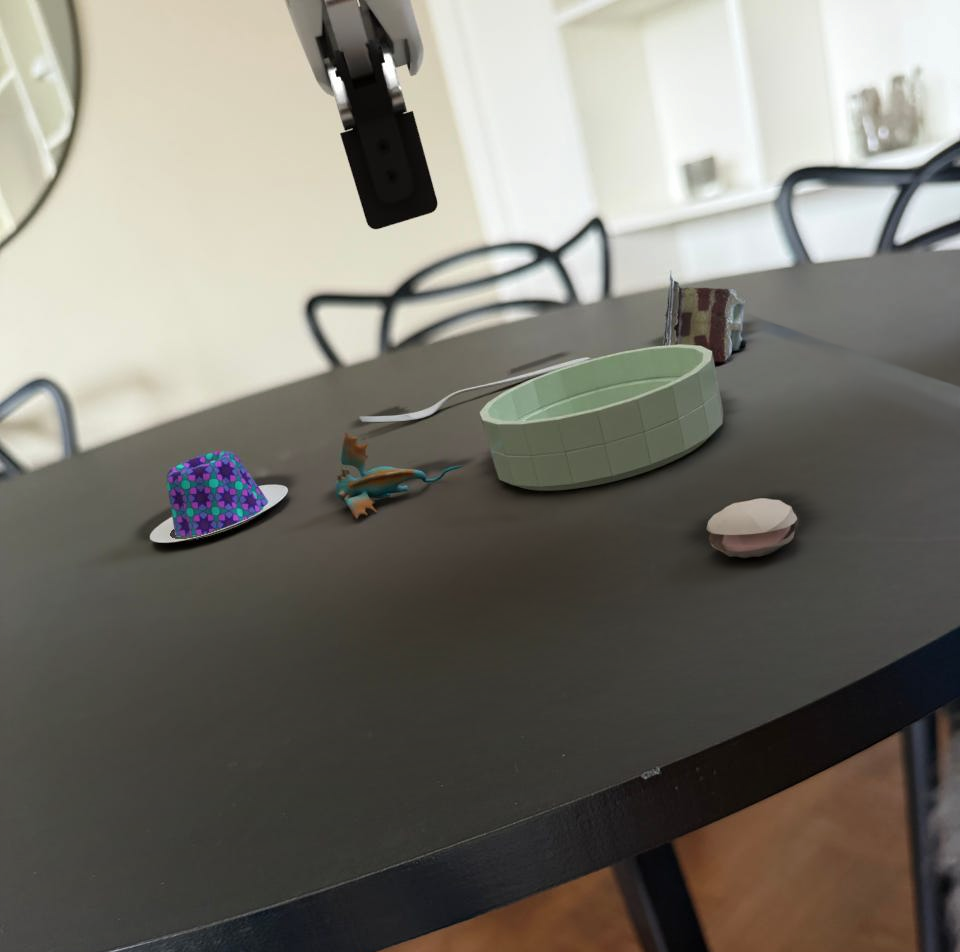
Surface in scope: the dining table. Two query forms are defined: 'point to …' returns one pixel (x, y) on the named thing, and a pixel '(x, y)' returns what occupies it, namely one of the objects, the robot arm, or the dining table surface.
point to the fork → (435, 407)
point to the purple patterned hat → (213, 497)
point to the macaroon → (752, 527)
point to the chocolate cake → (704, 319)
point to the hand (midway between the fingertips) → (404, 217)
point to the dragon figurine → (371, 478)
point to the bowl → (604, 418)
